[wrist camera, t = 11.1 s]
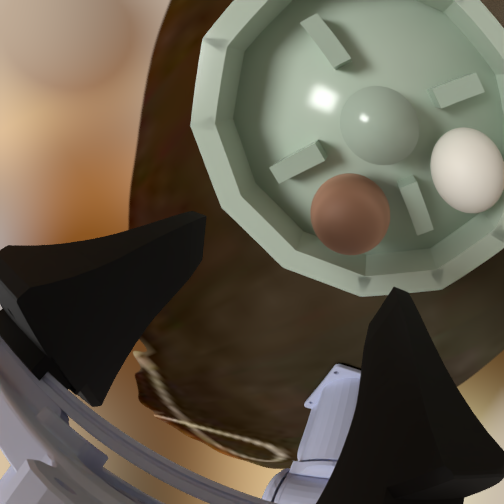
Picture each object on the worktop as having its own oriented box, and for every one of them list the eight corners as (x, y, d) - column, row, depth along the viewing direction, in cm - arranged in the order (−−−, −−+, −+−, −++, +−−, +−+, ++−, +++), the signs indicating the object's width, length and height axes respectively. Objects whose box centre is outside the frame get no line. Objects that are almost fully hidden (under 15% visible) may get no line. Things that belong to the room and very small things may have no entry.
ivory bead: (413, 175, 13) (425, 208, 10) (437, 107, 10) (460, 120, 7) (471, 203, 12) (493, 242, 9) (497, 142, 9) (531, 167, 6)
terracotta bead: (398, 181, 13) (408, 210, 10) (371, 241, 16) (370, 283, 12) (328, 153, 14) (318, 174, 11) (308, 217, 16) (292, 252, 13)
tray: (443, 299, 16) (449, 329, 14) (205, 210, 20) (182, 230, 17) (539, 59, 6) (565, 59, 3) (247, -44, 9) (225, -62, 7)
